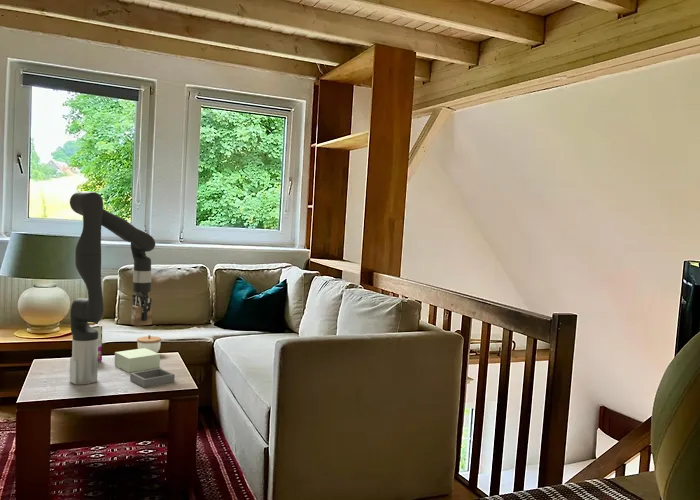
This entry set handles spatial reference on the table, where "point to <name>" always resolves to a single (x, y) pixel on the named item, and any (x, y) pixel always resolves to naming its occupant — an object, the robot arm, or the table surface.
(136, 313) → the walnut parts box
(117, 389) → the table surface
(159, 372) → the charcoal bin
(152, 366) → the block
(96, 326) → the candy bar box
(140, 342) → the lidded jar
